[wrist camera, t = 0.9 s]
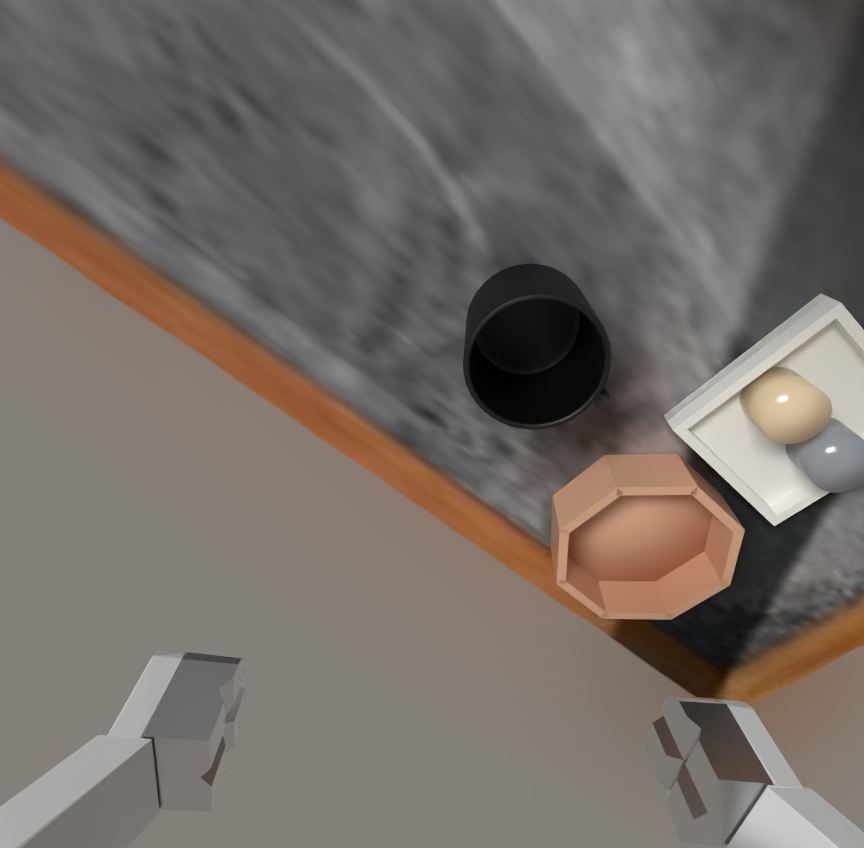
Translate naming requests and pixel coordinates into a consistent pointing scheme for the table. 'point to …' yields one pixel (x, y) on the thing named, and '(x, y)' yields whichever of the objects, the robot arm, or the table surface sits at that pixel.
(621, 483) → the bowl
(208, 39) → the table surface
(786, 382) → the sand pebble
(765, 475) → the tray
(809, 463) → the slate pebble
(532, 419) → the mug
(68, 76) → the table surface
